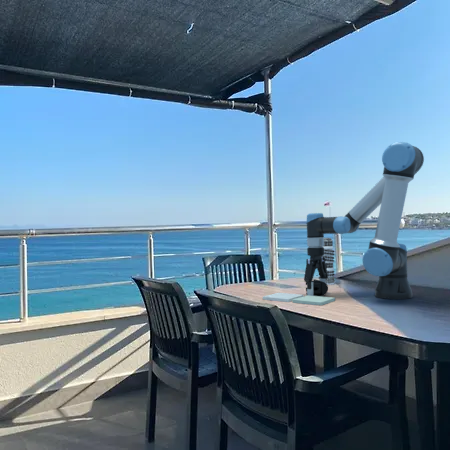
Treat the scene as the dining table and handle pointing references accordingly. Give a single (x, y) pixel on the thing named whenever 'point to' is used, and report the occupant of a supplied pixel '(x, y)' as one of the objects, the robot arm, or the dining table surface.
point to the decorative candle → (329, 260)
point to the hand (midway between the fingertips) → (316, 294)
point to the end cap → (319, 288)
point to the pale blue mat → (282, 297)
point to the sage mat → (313, 300)
